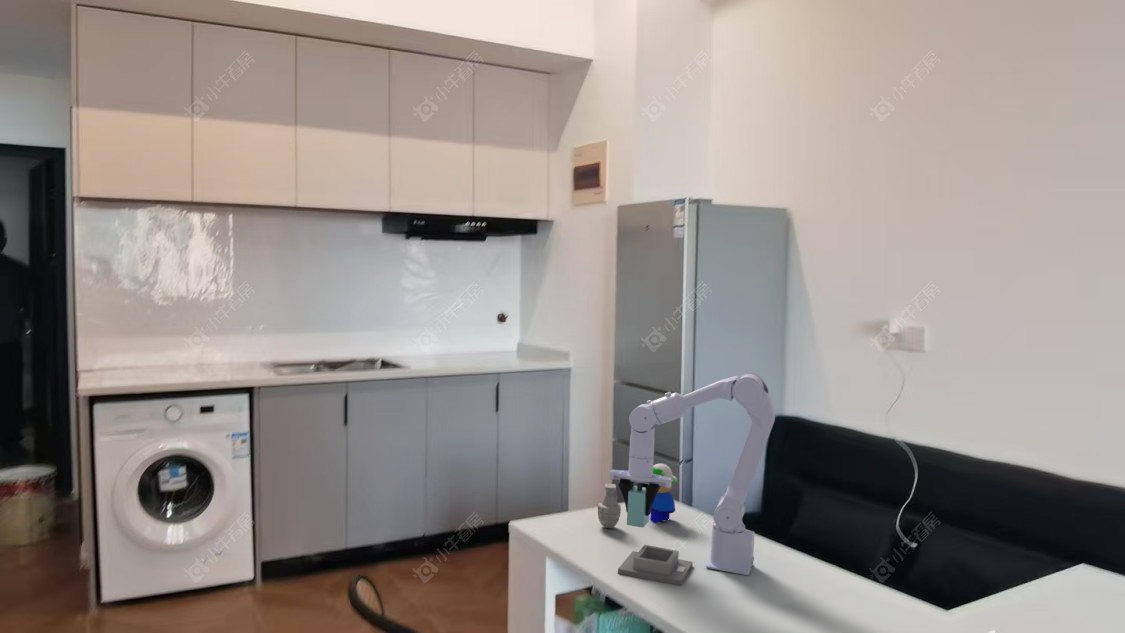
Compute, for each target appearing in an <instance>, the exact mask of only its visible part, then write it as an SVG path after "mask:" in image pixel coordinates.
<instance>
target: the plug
mask: <svg viewBox="0 0 1125 633" xmlns="http://www.w3.org/2000/svg"><path fill="white" fill-rule="evenodd" d="M636 483H637V485H633V488H632V489H630V490H629V491H628V509H627V512H626V526H631V527H636V528H643V529H644V528H645V526H646V525H647V524H648V523H649V522H650V521H649V520H650V515H649V516H646V515H645V510H646V488H644V487H642V485H643V484H642V483H638V482H636Z"/></svg>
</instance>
